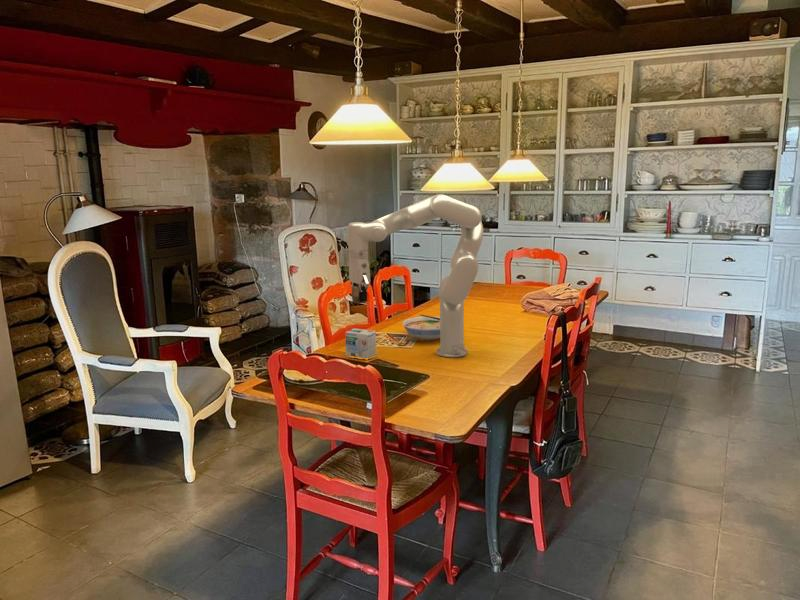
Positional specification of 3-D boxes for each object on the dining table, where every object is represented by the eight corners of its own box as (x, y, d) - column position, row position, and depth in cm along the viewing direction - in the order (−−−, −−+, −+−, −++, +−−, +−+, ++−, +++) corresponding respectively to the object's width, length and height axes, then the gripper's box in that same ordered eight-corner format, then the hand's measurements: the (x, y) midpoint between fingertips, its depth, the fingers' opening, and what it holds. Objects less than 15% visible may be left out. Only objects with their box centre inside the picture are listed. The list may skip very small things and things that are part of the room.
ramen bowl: (390, 337, 264) (389, 320, 263) (427, 328, 279) (427, 311, 277) (428, 349, 246) (428, 330, 244) (466, 339, 260) (466, 321, 258)
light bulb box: (345, 357, 237) (344, 331, 235) (354, 353, 243) (353, 327, 240) (368, 361, 232) (367, 334, 230) (377, 356, 238) (376, 330, 236)
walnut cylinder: (369, 302, 232) (368, 286, 230) (356, 303, 229) (355, 288, 228) (362, 299, 236) (362, 284, 235) (349, 301, 234) (349, 286, 232)
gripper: (377, 256, 223) (378, 302, 227) (357, 251, 238) (358, 295, 242) (359, 257, 220) (360, 305, 223) (340, 252, 234) (341, 297, 238)
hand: (359, 299), depth 232 cm, fingers closed on walnut cylinder, 5 cm apart
